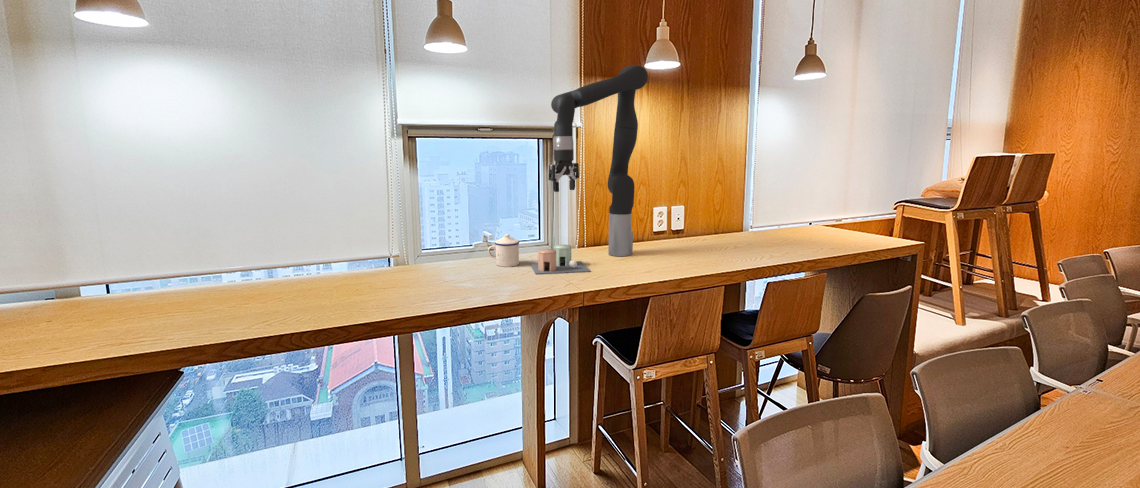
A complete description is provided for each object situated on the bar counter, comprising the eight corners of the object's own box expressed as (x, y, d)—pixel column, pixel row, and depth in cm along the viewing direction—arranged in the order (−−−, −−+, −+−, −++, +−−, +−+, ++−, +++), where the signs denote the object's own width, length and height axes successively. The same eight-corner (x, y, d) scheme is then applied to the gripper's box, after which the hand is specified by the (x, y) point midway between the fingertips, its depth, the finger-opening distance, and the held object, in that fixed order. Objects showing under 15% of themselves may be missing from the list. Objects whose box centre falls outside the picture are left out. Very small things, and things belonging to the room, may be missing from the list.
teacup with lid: (521, 262, 213) (520, 232, 211) (517, 267, 204) (516, 236, 202) (490, 261, 214) (490, 232, 212) (485, 266, 205) (484, 236, 203)
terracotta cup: (548, 266, 204) (548, 248, 203) (559, 269, 200) (559, 250, 198) (534, 269, 200) (534, 250, 199) (546, 272, 195) (546, 253, 194)
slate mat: (581, 262, 213) (581, 261, 213) (590, 271, 198) (590, 270, 198) (530, 264, 210) (530, 263, 210) (535, 274, 194) (535, 273, 194)
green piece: (563, 261, 212) (563, 243, 211) (574, 264, 208) (574, 246, 207) (550, 264, 208) (550, 246, 207) (562, 267, 204) (562, 248, 202)
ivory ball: (573, 266, 204) (573, 259, 203) (578, 268, 201) (578, 260, 201) (567, 268, 202) (567, 260, 201) (572, 269, 200) (572, 261, 199)
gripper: (569, 147, 217) (570, 188, 220) (543, 148, 207) (544, 191, 210) (583, 147, 211) (584, 190, 215) (557, 149, 202) (557, 193, 205)
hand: (564, 190), depth 212 cm, fingers open, 8 cm apart
